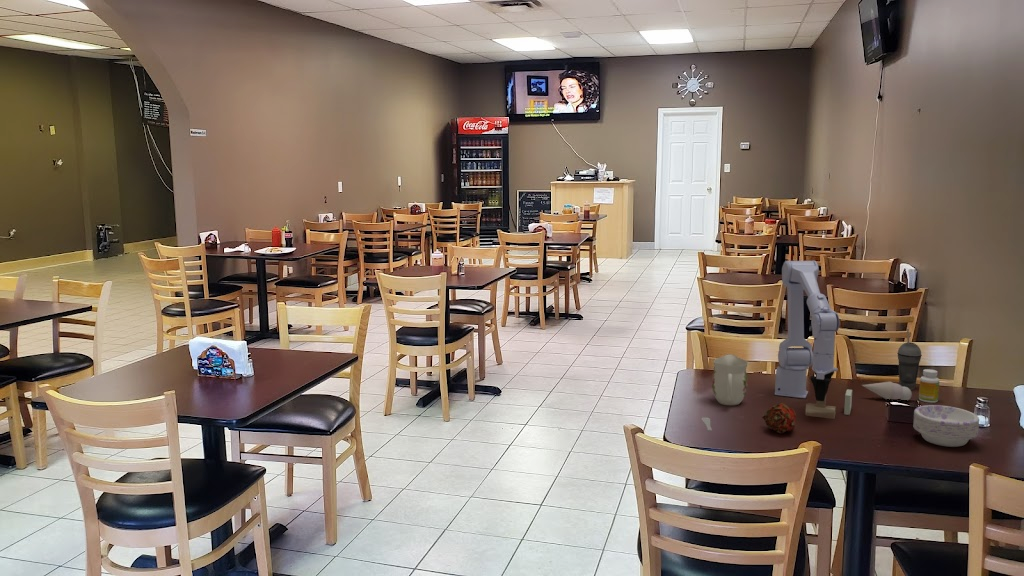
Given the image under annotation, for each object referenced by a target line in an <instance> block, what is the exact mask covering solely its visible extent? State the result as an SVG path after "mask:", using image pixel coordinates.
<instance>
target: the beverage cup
mask: <svg viewBox="0 0 1024 576" xmlns="http://www.w3.org/2000/svg"><path fill="white" fill-rule="evenodd" d="M909 330H910V329H909V328H907V329H906V334H907V335H906V338H907V342H905V343H903V344H901V345H900V346H899V347H898V351H897V360H898V384H899V385H901V386H902V387H907V388H909V389H910V390H911V391H912V390H914V391H915V387H916V384H917V379H918V373H919V367H920V362H921V359H922V350H921V348H920V347H919V346H918V344H917V343H914V342H911V341H910V331H909Z"/></svg>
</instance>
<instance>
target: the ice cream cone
mask: <svg viewBox="0 0 1024 576" xmlns="http://www.w3.org/2000/svg"><path fill="white" fill-rule="evenodd" d="M861 386H862V387H864V388H865V389H866V390H869V391H870V392H872V393H873V394H876V395H877V396H879V397H881V398H883V399H885V400H886V399H889V400H890V399H901V400H907V401H909V400H910V399H911V398H912V396H913V394H912V390H910V389H909V388H907V387H902V386H901V385H900V384H899V383H897V382H892V381H883V382H876V383H875V382H874V383H869V384H861ZM901 400H900V401H901Z"/></svg>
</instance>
